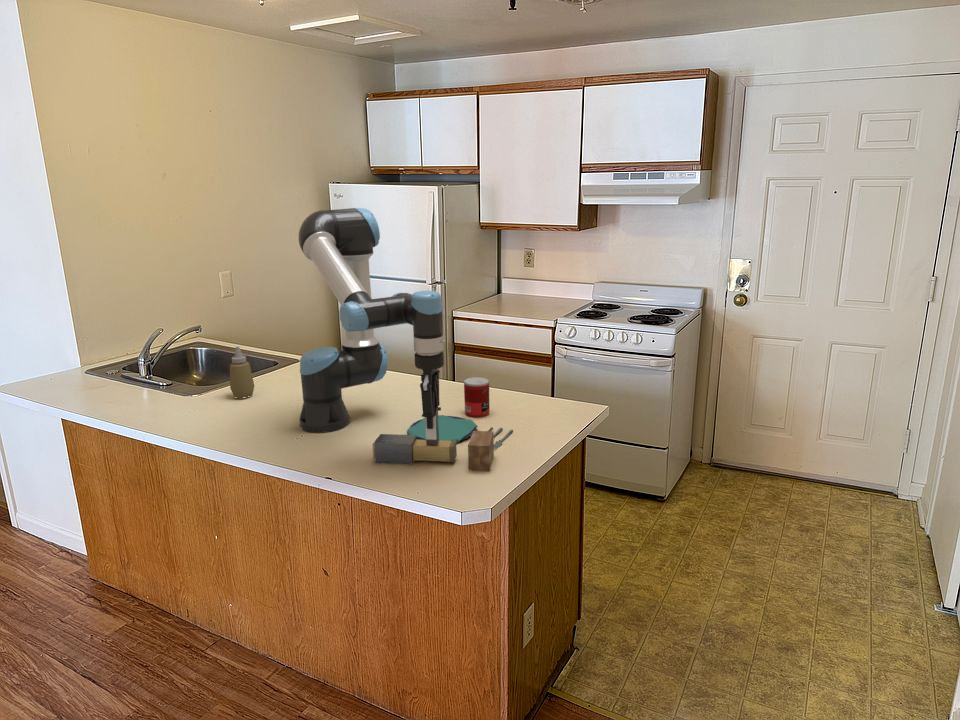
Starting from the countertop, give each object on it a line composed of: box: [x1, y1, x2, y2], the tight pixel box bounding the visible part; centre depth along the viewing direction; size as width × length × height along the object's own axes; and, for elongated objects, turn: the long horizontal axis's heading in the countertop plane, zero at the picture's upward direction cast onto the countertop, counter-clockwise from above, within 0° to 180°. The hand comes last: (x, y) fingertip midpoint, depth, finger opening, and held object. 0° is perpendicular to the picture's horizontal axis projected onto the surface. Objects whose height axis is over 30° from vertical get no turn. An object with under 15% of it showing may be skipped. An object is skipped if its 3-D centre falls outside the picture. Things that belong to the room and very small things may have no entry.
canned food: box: [463, 377, 490, 418], centre depth 217 cm, size 8×8×11 cm
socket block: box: [467, 430, 495, 472], centre depth 182 cm, size 6×10×7 cm, turn 172°
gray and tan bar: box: [372, 406, 458, 463], centre depth 183 cm, size 22×4×14 cm, turn 82°
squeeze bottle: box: [229, 346, 255, 399], centre depth 237 cm, size 8×8×18 cm
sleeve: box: [373, 433, 417, 466], centre depth 185 cm, size 10×6×6 cm, turn 82°
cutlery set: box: [406, 414, 514, 452], centre depth 201 cm, size 20×30×2 cm, turn 65°
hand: (432, 436), depth 182 cm, fingers closed on gray and tan bar, 2 cm apart
